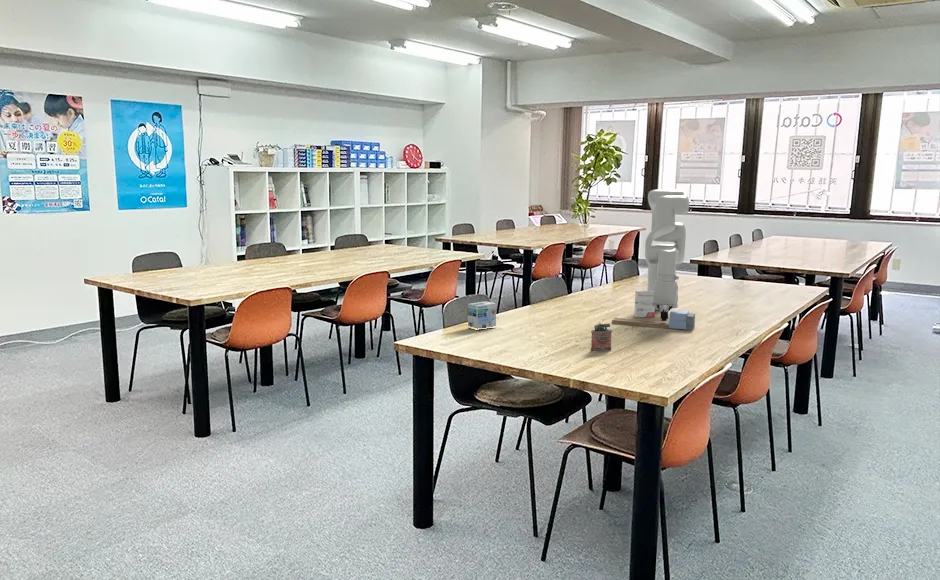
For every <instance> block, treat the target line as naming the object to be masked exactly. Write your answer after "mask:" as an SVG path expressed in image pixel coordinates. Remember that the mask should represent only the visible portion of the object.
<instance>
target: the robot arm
mask: <svg viewBox="0 0 940 580" xmlns="http://www.w3.org/2000/svg"><path fill="white" fill-rule="evenodd" d="M687 193H688V192H687V191H686V190H684V189H666V188H665V189H663V188H662V189H652V190H650V191H648V194H647V201H648V206H649V207H650V211H651V229H650V232H649V233H648V235H646V236H647V237H646V239H645V244H644V245H645V246H644V250H645V251H644V257H645V261H646V263H647V284H646V285H647V287H646V288H647V289H646V291H653V303H652V306H654V307H655V311H659V312H660V314H659V315H660V320H661V321H662V322H667V320H668V319H669V311H672V310H673V309H678V307H679V305H678V302H679V287H678V282H677V280H679V279H680V277H679V275H676V274H677V273H676V271H677V270H676V269H677V265H680V264H682V263H683V262H684V260H685V255H686V254H685V253H686V252H685V251H686V239H687V237H686V236H687V235H686V233H687V232H686V230H687V229H686V227H685V224H684V223H682V222H676V215H679V216H680V215H687V214H688V213H689V210H690V199H689V197H688V194H687ZM653 242H657V243H654V244H653ZM667 243H668V244H667ZM671 243H674V244H671Z"/></svg>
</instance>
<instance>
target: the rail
mask: <svg viewBox="0 0 940 580" xmlns="http://www.w3.org/2000/svg"><path fill="white" fill-rule="evenodd" d="M695 322H696V313H695V312H689V314H688V315H687V323H686V329H683V330H685V331H691V332H692V331H693V330H694V329H695V325H696V324H695ZM611 324H617V325H627V326H636V327H637V326H638V327H649V328H650V327H651V328H662V329H670V328H669V321H662V320H661V321H660V320H649V319H648V320H646V319H636V318H621V317H614V318H613V319H612V320H611ZM671 329H674V328H671Z"/></svg>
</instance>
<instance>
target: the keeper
mask: <svg viewBox="0 0 940 580" xmlns="http://www.w3.org/2000/svg"><path fill="white" fill-rule="evenodd" d="M689 313H690V312H689V311H688V310H676V309H671V310H670V312H669V317H668V319H669V320H668V322H669V328H668V329H672V328H674V329H675V330H684V329H686V323H687V315H688V314H689Z"/></svg>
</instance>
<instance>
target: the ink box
mask: <svg viewBox="0 0 940 580" xmlns="http://www.w3.org/2000/svg"><path fill="white" fill-rule="evenodd" d="M634 292H635V294H634V316H635V317H636V318H655V311H656V310H655V307H654V306H652V303H653V291H647V290H638V289H636V290H635V291H634Z"/></svg>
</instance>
